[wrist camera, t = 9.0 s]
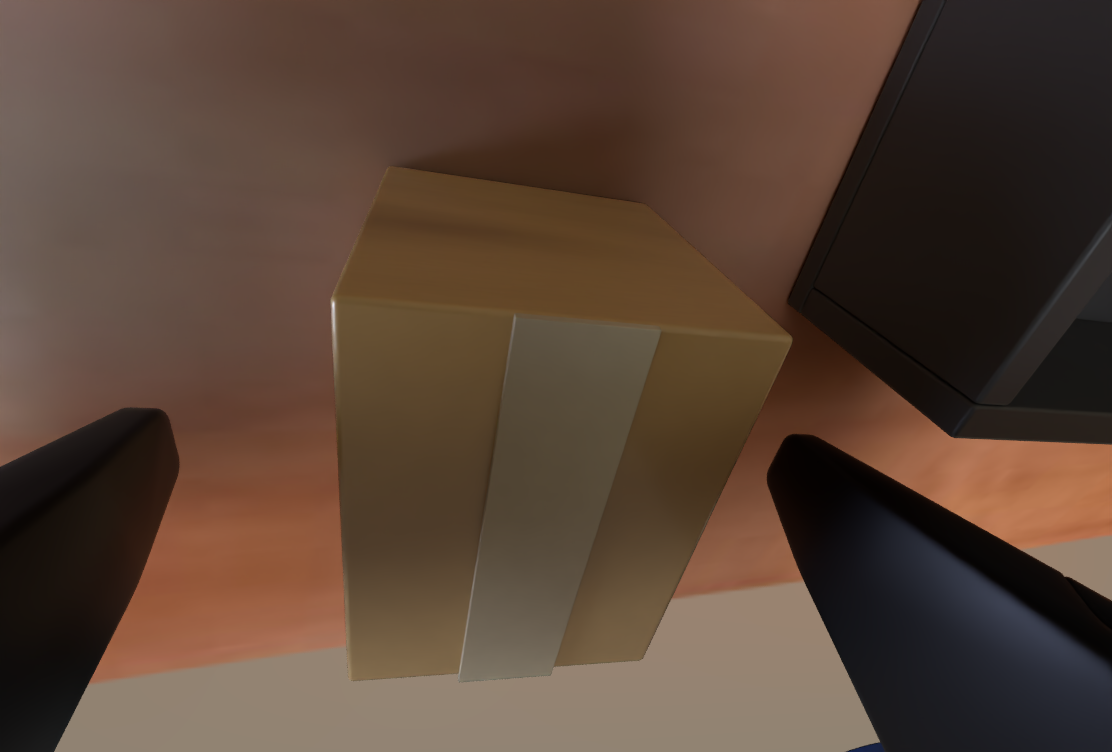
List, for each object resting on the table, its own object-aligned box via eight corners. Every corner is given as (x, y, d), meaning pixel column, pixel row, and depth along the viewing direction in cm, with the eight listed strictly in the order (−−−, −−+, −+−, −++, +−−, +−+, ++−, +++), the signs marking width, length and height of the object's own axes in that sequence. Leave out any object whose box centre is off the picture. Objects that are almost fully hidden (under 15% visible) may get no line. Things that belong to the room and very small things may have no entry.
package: (580, 455, 13) (645, 668, 8) (383, 450, 12) (345, 691, 7) (648, 203, 10) (803, 342, 5) (386, 164, 8) (326, 300, 4)
